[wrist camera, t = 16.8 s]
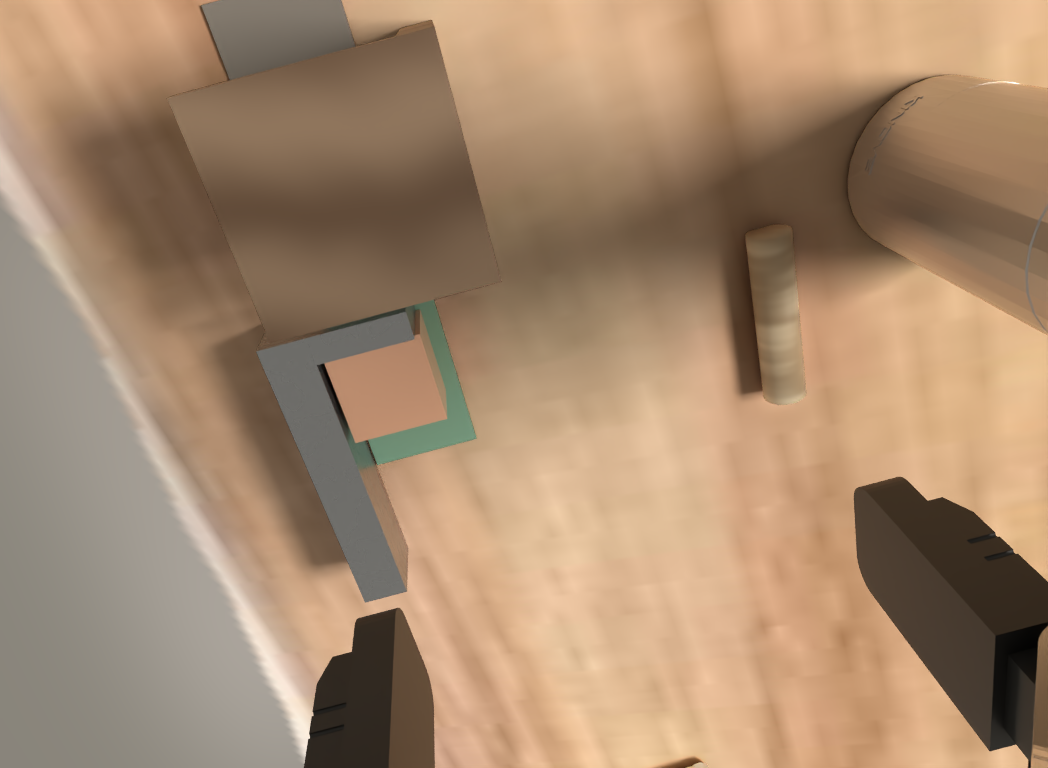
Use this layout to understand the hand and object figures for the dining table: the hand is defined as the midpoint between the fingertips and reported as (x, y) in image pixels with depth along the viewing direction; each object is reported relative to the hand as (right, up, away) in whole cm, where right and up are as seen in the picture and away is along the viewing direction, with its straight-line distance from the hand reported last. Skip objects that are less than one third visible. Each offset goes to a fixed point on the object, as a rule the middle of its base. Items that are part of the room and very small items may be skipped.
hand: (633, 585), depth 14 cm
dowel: (+13, +8, +31) cm, 35 cm away
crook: (-10, +1, +32) cm, 34 cm away
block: (-9, +5, +30) cm, 32 cm away
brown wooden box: (-10, +15, +25) cm, 31 cm away
